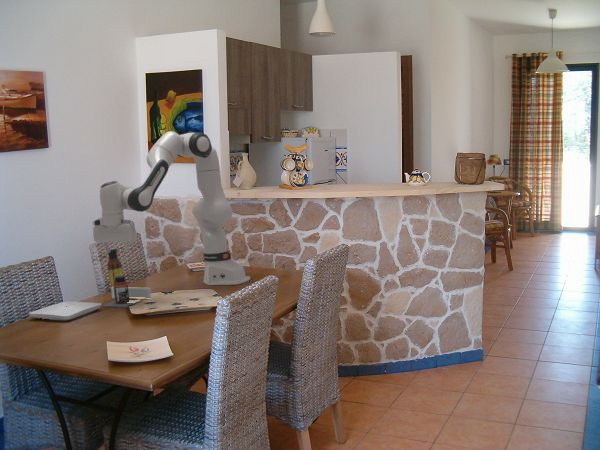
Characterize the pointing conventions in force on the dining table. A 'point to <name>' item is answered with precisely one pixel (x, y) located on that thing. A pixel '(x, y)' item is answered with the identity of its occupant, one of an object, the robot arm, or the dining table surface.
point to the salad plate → (65, 310)
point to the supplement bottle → (121, 290)
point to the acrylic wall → (135, 292)
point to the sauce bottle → (114, 266)
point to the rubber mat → (117, 305)
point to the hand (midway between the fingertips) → (117, 252)
